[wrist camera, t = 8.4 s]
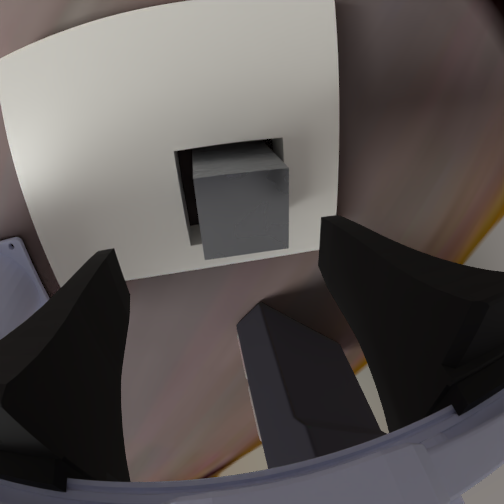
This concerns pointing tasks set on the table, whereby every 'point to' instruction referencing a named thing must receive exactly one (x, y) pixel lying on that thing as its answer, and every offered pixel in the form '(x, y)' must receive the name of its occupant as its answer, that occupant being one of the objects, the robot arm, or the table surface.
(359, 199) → the table surface
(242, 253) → the pin
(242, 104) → the slot board
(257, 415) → the dark grey rectangular block
